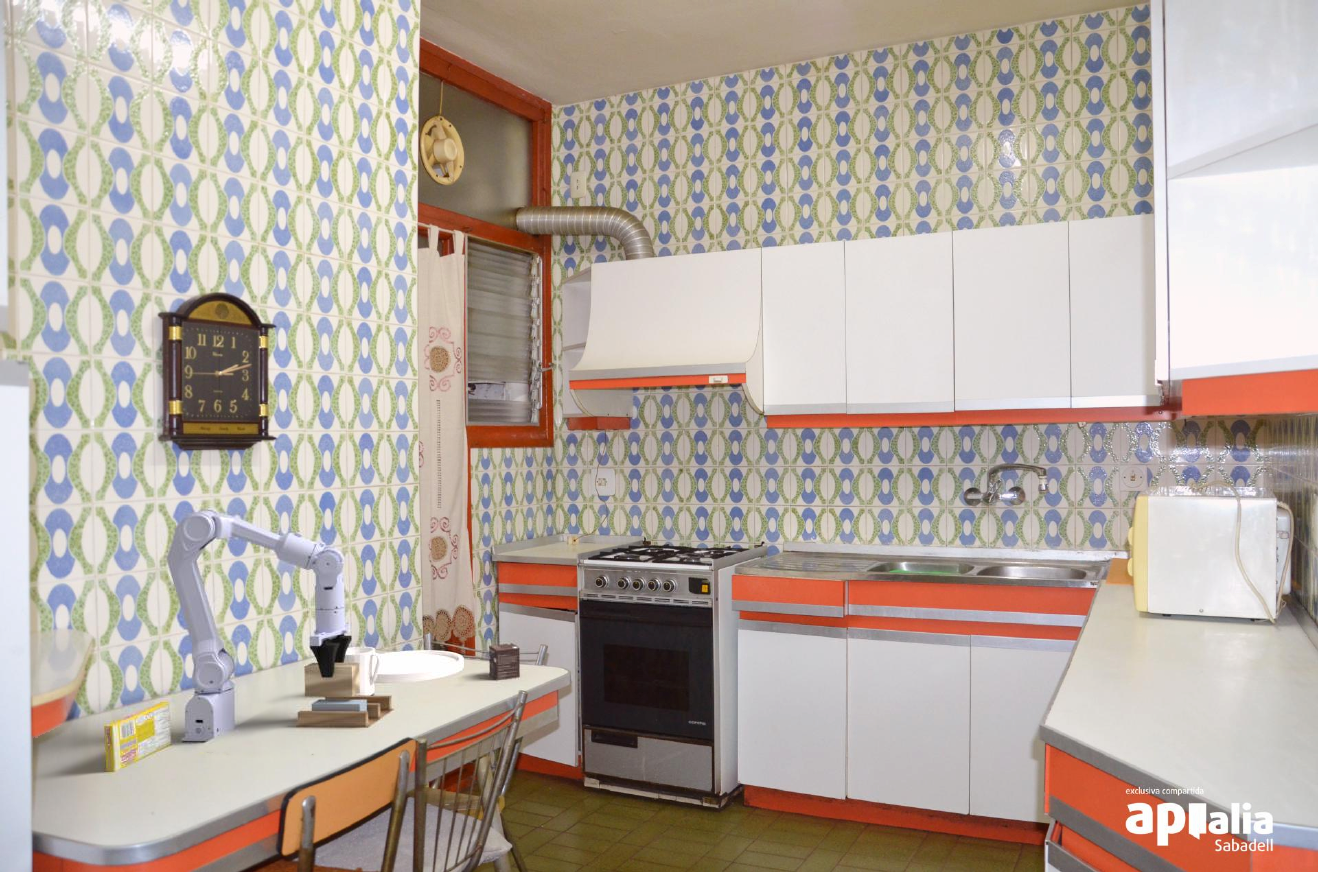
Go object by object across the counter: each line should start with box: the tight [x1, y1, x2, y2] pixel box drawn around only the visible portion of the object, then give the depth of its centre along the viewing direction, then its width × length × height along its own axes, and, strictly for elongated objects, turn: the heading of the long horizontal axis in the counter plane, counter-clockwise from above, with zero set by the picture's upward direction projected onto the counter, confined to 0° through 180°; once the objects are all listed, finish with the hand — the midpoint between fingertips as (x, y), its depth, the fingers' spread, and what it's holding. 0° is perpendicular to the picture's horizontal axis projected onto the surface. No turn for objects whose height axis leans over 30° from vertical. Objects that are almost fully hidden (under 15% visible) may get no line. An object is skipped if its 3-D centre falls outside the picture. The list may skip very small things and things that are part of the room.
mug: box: [344, 646, 381, 696], centre depth 228 cm, size 11×9×10 cm
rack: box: [294, 695, 395, 729], centre depth 207 cm, size 14×15×4 cm
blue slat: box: [311, 698, 367, 711], centre depth 204 cm, size 4×10×4 cm, turn 84°
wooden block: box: [303, 662, 360, 698], centre depth 205 cm, size 4×10×6 cm, turn 83°
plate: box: [374, 649, 465, 684], centre depth 255 cm, size 28×28×2 cm
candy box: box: [103, 701, 172, 773], centre depth 186 cm, size 16×2×8 cm, turn 172°
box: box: [488, 642, 521, 681], centre depth 245 cm, size 6×6×7 cm
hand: (331, 674), depth 205 cm, fingers closed on wooden block, 3 cm apart
